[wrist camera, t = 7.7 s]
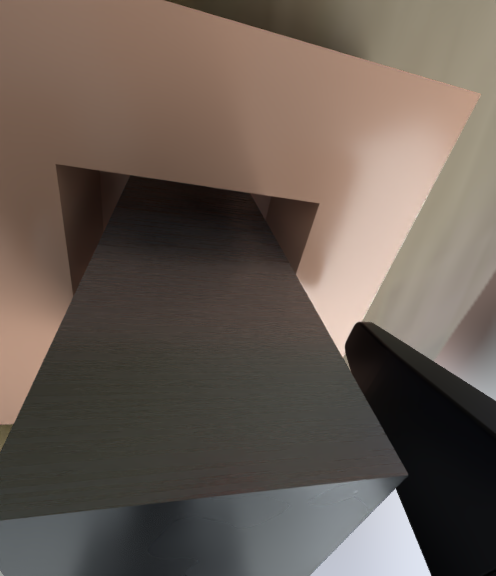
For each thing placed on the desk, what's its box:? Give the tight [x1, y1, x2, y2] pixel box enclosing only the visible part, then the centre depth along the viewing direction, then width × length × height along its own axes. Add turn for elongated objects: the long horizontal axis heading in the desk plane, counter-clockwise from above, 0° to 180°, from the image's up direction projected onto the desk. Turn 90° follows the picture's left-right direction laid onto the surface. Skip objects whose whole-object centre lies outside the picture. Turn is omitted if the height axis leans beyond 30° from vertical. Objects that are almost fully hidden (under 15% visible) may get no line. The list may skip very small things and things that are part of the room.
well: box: [0, 0, 481, 425], centre depth 11 cm, size 12×12×5 cm
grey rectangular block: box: [0, 175, 408, 576], centre depth 8 cm, size 4×4×10 cm
